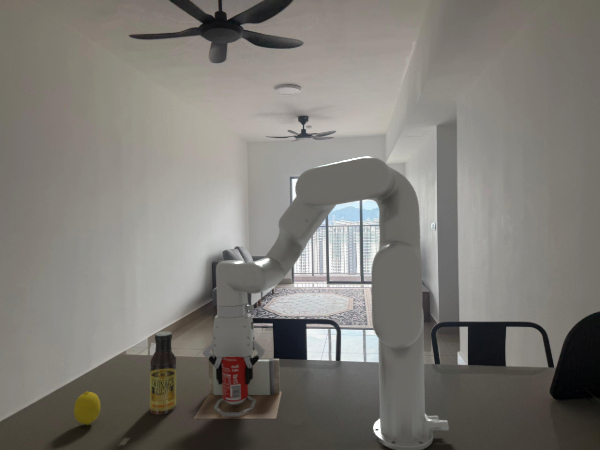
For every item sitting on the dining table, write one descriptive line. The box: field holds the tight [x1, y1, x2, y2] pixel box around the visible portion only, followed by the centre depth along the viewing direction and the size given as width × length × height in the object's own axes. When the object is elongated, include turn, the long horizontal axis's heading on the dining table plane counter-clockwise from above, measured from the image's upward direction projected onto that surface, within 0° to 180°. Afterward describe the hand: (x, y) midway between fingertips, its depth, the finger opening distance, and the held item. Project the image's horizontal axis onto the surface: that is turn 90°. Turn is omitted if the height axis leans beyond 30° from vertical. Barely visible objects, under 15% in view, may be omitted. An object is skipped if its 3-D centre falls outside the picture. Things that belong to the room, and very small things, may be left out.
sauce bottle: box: [149, 330, 177, 415], centre depth 98 cm, size 6×6×20 cm
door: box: [213, 358, 275, 395], centre depth 103 cm, size 16×2×9 cm, turn 87°
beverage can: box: [222, 355, 248, 404], centre depth 97 cm, size 6×6×12 cm
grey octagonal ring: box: [214, 396, 256, 417], centre depth 97 cm, size 10×10×1 cm
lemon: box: [73, 391, 102, 426], centre depth 93 cm, size 6×6×8 cm
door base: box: [193, 358, 283, 420], centre depth 99 cm, size 20×14×10 cm
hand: (234, 381), depth 97 cm, fingers closed on beverage can, 6 cm apart
